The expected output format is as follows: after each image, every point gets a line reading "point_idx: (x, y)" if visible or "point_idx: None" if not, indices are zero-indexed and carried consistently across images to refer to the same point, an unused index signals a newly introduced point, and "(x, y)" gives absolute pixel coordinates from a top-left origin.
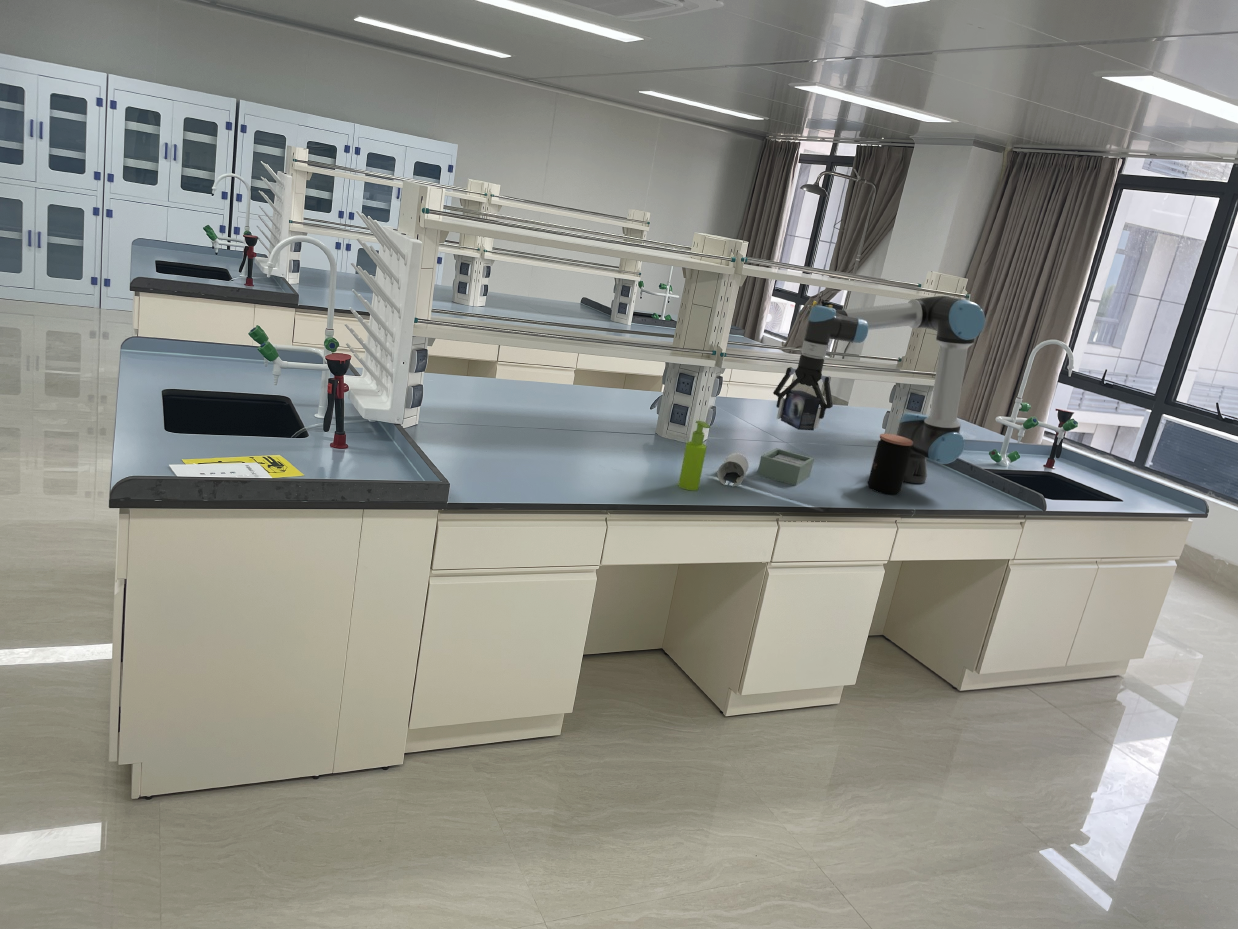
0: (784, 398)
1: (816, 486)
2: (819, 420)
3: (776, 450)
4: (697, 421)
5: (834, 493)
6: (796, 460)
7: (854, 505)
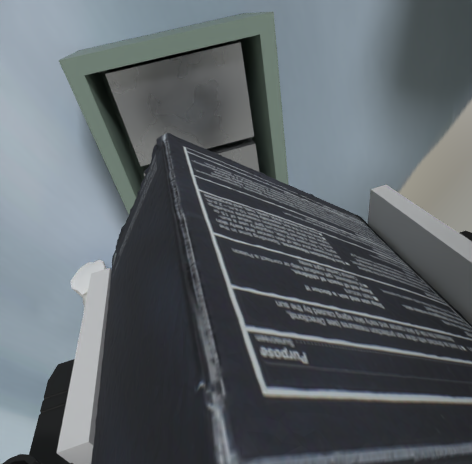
0: (90, 454)
1: (299, 91)
2: (424, 216)
3: (100, 112)
4: None
5: (361, 98)
6: (214, 98)
7: (422, 144)
